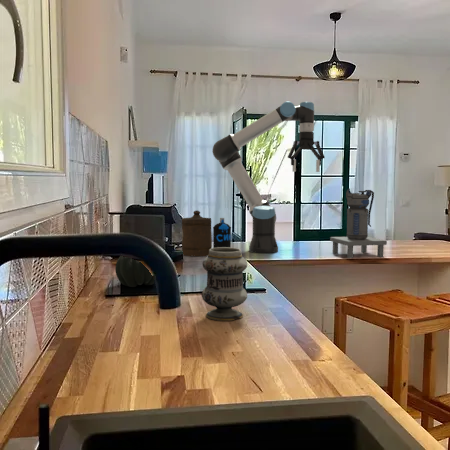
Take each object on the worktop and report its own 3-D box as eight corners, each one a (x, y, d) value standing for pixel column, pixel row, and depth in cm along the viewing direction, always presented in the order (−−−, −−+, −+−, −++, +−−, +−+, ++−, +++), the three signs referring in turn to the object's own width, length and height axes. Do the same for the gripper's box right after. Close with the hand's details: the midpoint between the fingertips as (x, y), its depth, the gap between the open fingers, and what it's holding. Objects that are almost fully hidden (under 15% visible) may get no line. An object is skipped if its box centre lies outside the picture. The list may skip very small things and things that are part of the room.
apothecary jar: (226, 325, 120) (226, 253, 118) (192, 316, 128) (192, 249, 126) (256, 315, 129) (256, 248, 127) (222, 307, 137) (223, 244, 135)
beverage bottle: (371, 240, 233) (373, 188, 230) (343, 239, 237) (345, 188, 235) (373, 238, 242) (374, 188, 240) (346, 237, 247) (347, 188, 245)
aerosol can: (210, 261, 218) (210, 217, 217) (226, 260, 221) (226, 217, 220) (217, 264, 211) (217, 218, 209) (234, 263, 214) (234, 218, 212)
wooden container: (194, 251, 251) (194, 209, 249) (217, 254, 243) (217, 210, 241) (175, 255, 239) (175, 210, 237) (199, 257, 230) (199, 211, 229)
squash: (163, 273, 160) (157, 236, 168) (117, 277, 156) (113, 239, 164) (159, 294, 171) (154, 259, 179) (116, 298, 167) (113, 262, 175)
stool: (348, 258, 228) (348, 241, 228) (330, 252, 248) (330, 237, 247) (386, 257, 233) (386, 240, 232) (365, 251, 252) (365, 236, 251)
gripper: (286, 130, 251) (286, 171, 253) (331, 131, 256) (330, 171, 258) (282, 131, 258) (281, 171, 260) (325, 133, 264) (324, 172, 266)
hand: (305, 171), depth 259 cm, fingers open, 13 cm apart
